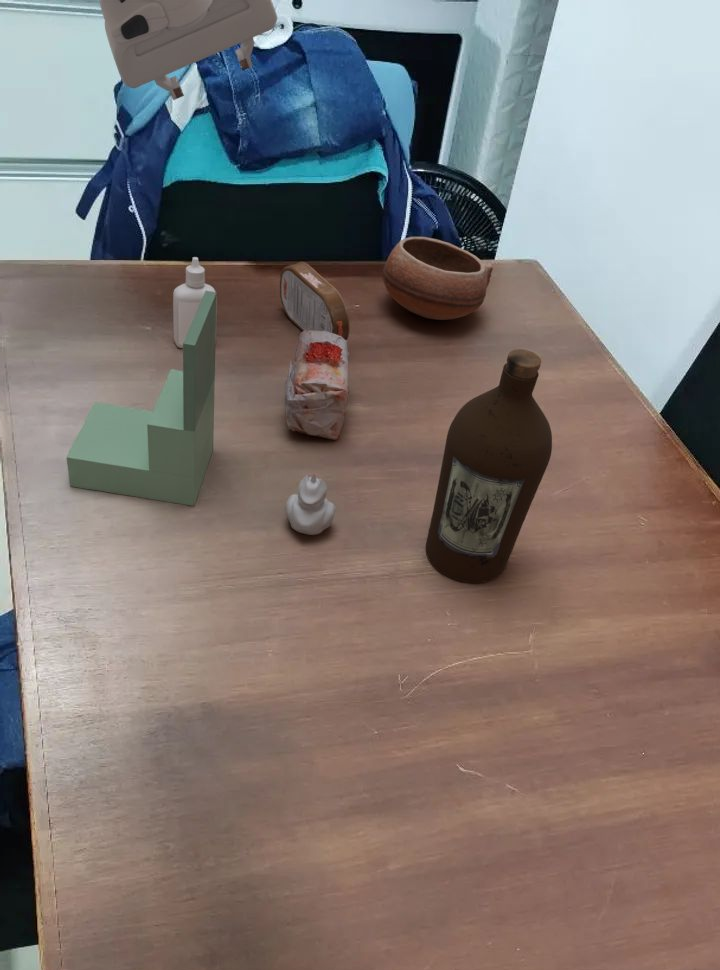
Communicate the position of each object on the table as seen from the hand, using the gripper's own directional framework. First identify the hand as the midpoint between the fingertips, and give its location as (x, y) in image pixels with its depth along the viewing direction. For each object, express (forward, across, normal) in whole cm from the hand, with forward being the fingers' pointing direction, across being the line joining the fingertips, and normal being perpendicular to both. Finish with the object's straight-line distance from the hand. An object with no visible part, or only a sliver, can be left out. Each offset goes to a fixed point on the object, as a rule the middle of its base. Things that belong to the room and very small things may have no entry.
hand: (211, 79), depth 116 cm
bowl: (+33, -18, +22) cm, 44 cm away
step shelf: (0, +23, +47) cm, 52 cm away
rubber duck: (+2, +7, +60) cm, 61 cm away
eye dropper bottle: (+15, +15, +24) cm, 32 cm away
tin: (+23, 0, +24) cm, 33 cm away
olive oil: (+5, -8, +69) cm, 70 cm away
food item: (+13, +3, +42) cm, 44 cm away
